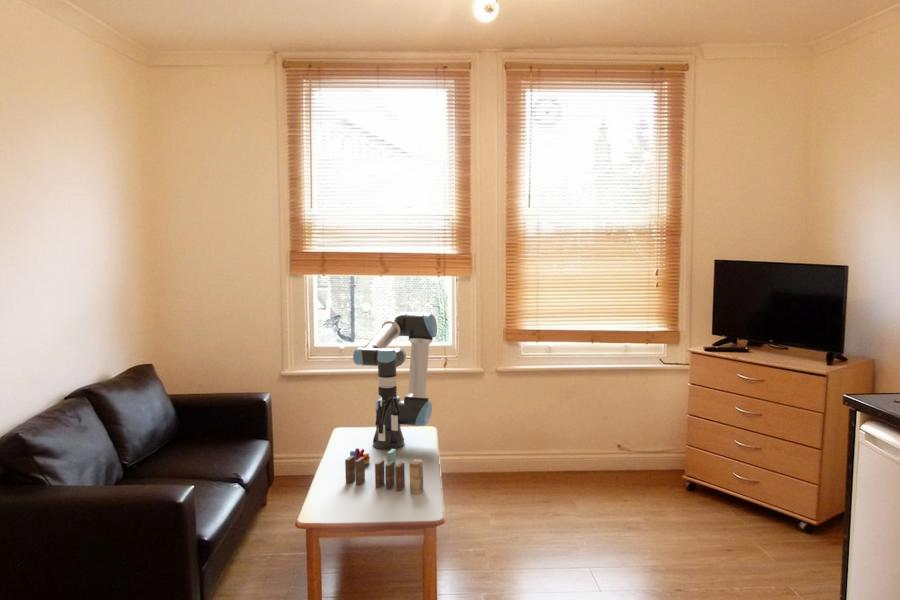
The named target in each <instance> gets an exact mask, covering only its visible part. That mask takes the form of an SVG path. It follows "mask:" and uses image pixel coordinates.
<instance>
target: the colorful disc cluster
mask: <svg viewBox="0 0 900 600" xmlns="http://www.w3.org/2000/svg"><path fill="white" fill-rule="evenodd" d="M364 452H365V448H362V449H361V450H360V449H359V448H357V447H356V448H355V449H354V450H350V451H349V457H350V456H355V461H356V460H357V459H359V458H360V457H364V458H365V465H367V464H369V463H370V459H371V456H370V453H364Z"/></svg>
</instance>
